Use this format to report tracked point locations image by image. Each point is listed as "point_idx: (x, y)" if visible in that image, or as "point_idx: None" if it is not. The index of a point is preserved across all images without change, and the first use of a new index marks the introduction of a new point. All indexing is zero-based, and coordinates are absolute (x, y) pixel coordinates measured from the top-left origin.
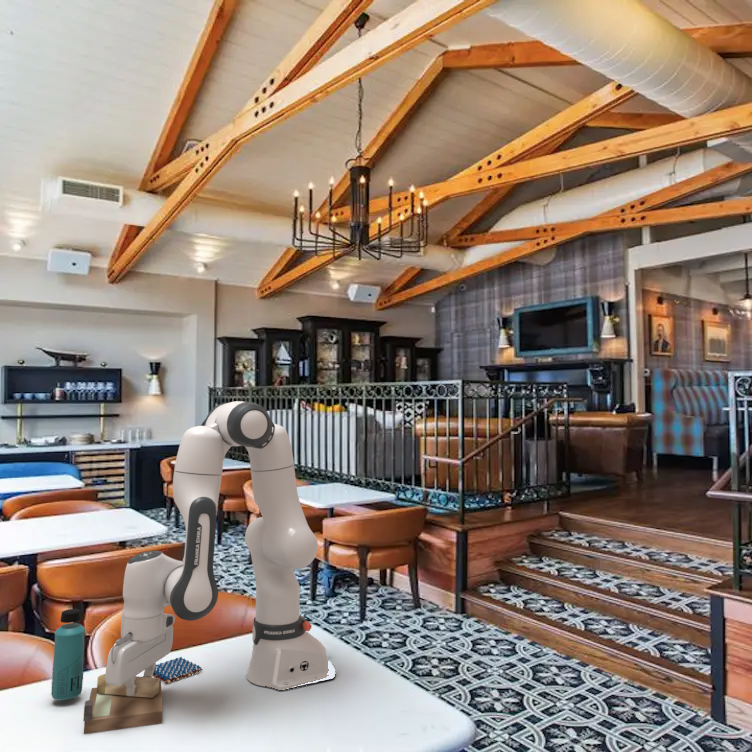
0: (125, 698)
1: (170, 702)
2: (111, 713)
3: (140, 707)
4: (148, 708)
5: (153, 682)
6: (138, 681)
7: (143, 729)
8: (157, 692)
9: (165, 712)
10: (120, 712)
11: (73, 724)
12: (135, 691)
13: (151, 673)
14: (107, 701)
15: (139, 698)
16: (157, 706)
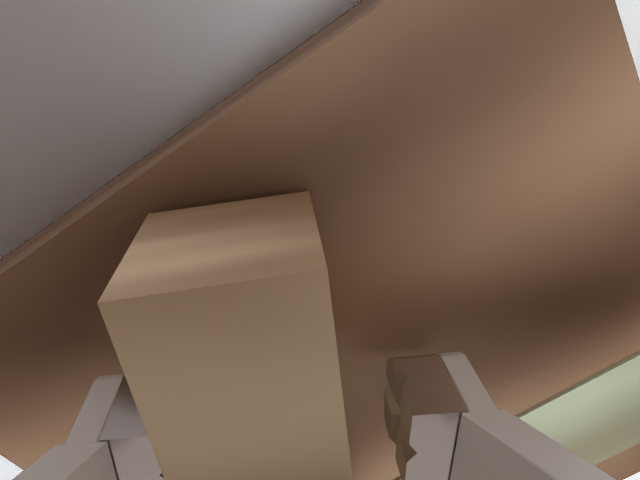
0: (362, 406)
1: (76, 81)
2: (633, 343)
3: (504, 191)
4: (521, 94)
5: (278, 294)
6: (315, 469)
7: (621, 18)
8: (183, 211)
9: (282, 3)
10: (617, 293)
11: None
12: (434, 373)
13: (72, 473)
14: None
15: None
16: (461, 17)
